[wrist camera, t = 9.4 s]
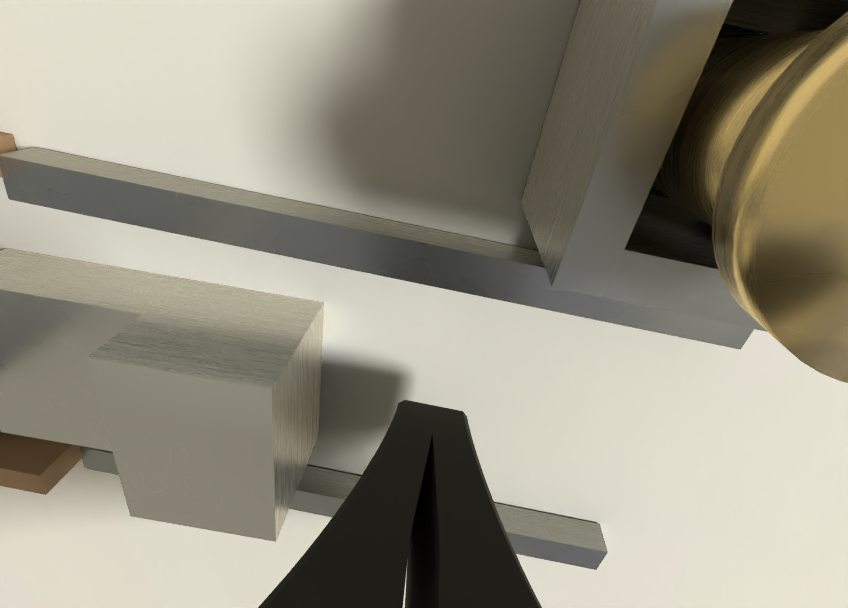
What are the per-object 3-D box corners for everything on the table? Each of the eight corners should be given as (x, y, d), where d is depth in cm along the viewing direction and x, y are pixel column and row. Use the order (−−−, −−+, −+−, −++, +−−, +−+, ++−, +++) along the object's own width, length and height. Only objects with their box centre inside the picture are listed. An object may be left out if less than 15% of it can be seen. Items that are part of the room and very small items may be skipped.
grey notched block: (324, 300, 10) (271, 389, 7) (319, 433, 12) (275, 541, 9) (10, 246, 10) (-159, 315, 7) (57, 387, 12) (-63, 482, 9)
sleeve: (740, 292, 9) (764, 312, 8) (588, 541, 13) (596, 569, 12) (35, 146, 8) (-4, 154, 8) (106, 445, 12) (84, 468, 12)
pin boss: (858, -2, 6) (1223, -60, 3) (699, 284, 9) (827, 408, 6) (597, -58, 6) (720, -171, 3) (507, 244, 9) (530, 346, 5)
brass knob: (835, 28, 6) (1594, -38, 2) (728, 225, 7) (1044, 423, 3) (633, -15, 6) (976, -170, 2) (563, 190, 7) (679, 348, 3)
